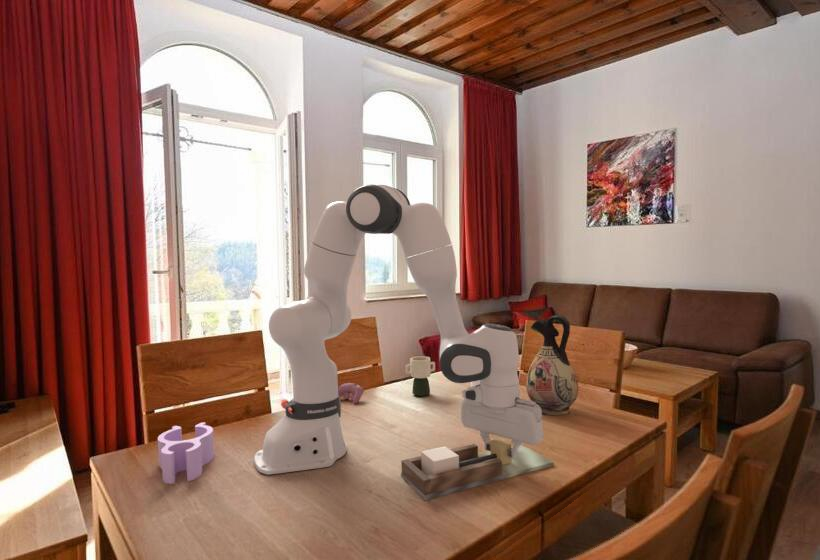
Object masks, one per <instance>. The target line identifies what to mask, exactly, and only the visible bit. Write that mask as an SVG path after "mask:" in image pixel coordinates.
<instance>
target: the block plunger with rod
mask: <svg viewBox="0 0 820 560" xmlns="http://www.w3.org/2000/svg"><path fill="white" fill-rule="evenodd" d="M490 445H491V451H490V452H491V455H487V456H483V457H479V458H474V459H470V460H466V461H462V462H459V455H457V454H456V453H454V452H453V451H451V450H450V448H449V447H447V445H446V446H445V445H443V446H441V447H435V448H431V449H425V450H422V451H421V453H420V455H421V463H422V472H423V473H424V474H425V475H426V476H429V475H433V474H437V473H442V472H446V471H450V470H454V469H458V468H459V467H462V466H466V465H470V464H474V463H478V462H482V461H486V460H490V459H492V460H494V459H499V460H501V461H502V465H505V464H509V463H512V458H511V457H508V450H509V449H510V448H511V447H512V442H511V443H510V442H509V441H507V440H506V439H505V438H504V439H503V437H501V438H496V439H491V440H490Z"/></svg>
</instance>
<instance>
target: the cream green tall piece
mask: <svg viewBox="0 0 820 560" xmlns="http://www.w3.org/2000/svg"><path fill="white" fill-rule="evenodd" d="M409 369H410V370H409ZM435 371H436V362H435V361H431V357H430V356H425V355H424V356H421V355H420V356H413V357H411V358H409V364H405V374H406V375H410V376H411V378H413V380H412V382H413V383H412V392H411V393H412V394H413V395H415V396H420V397H421V396H422V397H424V396H428V395H430V394H431V388H430V387H431V386H430V383H429V379H428V378H430V377H431V374H432V372H435Z"/></svg>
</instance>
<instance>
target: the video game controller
mask: <svg viewBox="0 0 820 560" xmlns="http://www.w3.org/2000/svg"><path fill="white" fill-rule="evenodd" d="M363 394H364V388H363V387H362V386H360V385H359V384H356V383H352V382H347V383H346V382H345V383H342V384H341V385H339V386H338V395H339V396H340V398H341V397H342V398H343V399H344V400H346V399H348V400H349V399H350V400H351V401H352V400H353V401H352V403H353V404H354V405H356V404H358V403H359V401H360V400H361V399H362V396H363Z"/></svg>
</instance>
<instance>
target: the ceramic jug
mask: <svg viewBox="0 0 820 560" xmlns="http://www.w3.org/2000/svg"><path fill="white" fill-rule="evenodd" d="M555 322H556V323H559V324H561V325H562V328H563V330H562V336H561V340H560V343H559V344H558V343H557V340H556V337H559V336H560V332H559V330H558V329H557V328H556V327H555V326H554V323H555ZM530 329H531V330H532V331H535V332H537V333H539V334H541V335H542V336H543V344H542V345H541V347H540V349H539V350H538V352H537V353H536V355H535V357H534V358H533V360H532V362H531V364H530V366H529V369H528V372H527V376H526V381H525V382H526V383H525V385H526V386H525V387H526V392H527V396H528V398H529V399H530V401H534V402H535V403H536V404H537V405H538V406H539V407H540V408H541V410H542V415H543V414H544V415H549V416H561V415H567V414H569V412H570V407H571V406H572V405H573V404H574V403H575V402H576V400H577V398H578V395H579V389H580V387H579V381H578V376H577V374H576V372H575V370H574V367H573V365H572V363H571V362H570V360H569V357H568V354H567V351H566V349H567V343H568V340H569V337H570V334H571V325H570V321H569V320H568V319H567V318H566V317H565V316H563V315H561V314H554V315H551V316H550V317H548V318H547V320H546V318H545V317H542V319H541V320H538V319H537V320H535V321H534V322H533V323H532V325H531V326H530ZM536 407H537V406H536Z"/></svg>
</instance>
